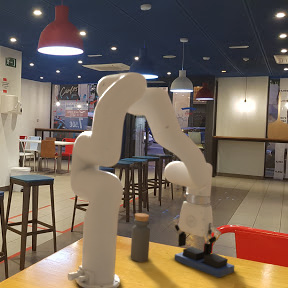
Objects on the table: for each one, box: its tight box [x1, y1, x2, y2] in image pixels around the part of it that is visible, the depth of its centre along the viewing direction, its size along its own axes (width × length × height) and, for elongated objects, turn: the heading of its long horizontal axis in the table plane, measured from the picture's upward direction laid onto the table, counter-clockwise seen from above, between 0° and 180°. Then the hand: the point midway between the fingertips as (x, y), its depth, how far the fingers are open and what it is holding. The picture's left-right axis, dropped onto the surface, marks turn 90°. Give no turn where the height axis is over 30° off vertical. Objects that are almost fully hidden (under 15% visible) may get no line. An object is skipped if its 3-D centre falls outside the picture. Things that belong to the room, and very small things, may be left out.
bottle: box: [130, 212, 151, 263], centre depth 126 cm, size 6×6×15 cm
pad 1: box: [182, 246, 205, 261], centre depth 125 cm, size 5×5×4 cm
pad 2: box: [204, 252, 229, 269], centre depth 119 cm, size 5×5×4 cm
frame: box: [174, 251, 235, 279], centre depth 123 cm, size 9×16×2 cm, turn 37°
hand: (194, 250), depth 125 cm, fingers open, 9 cm apart
